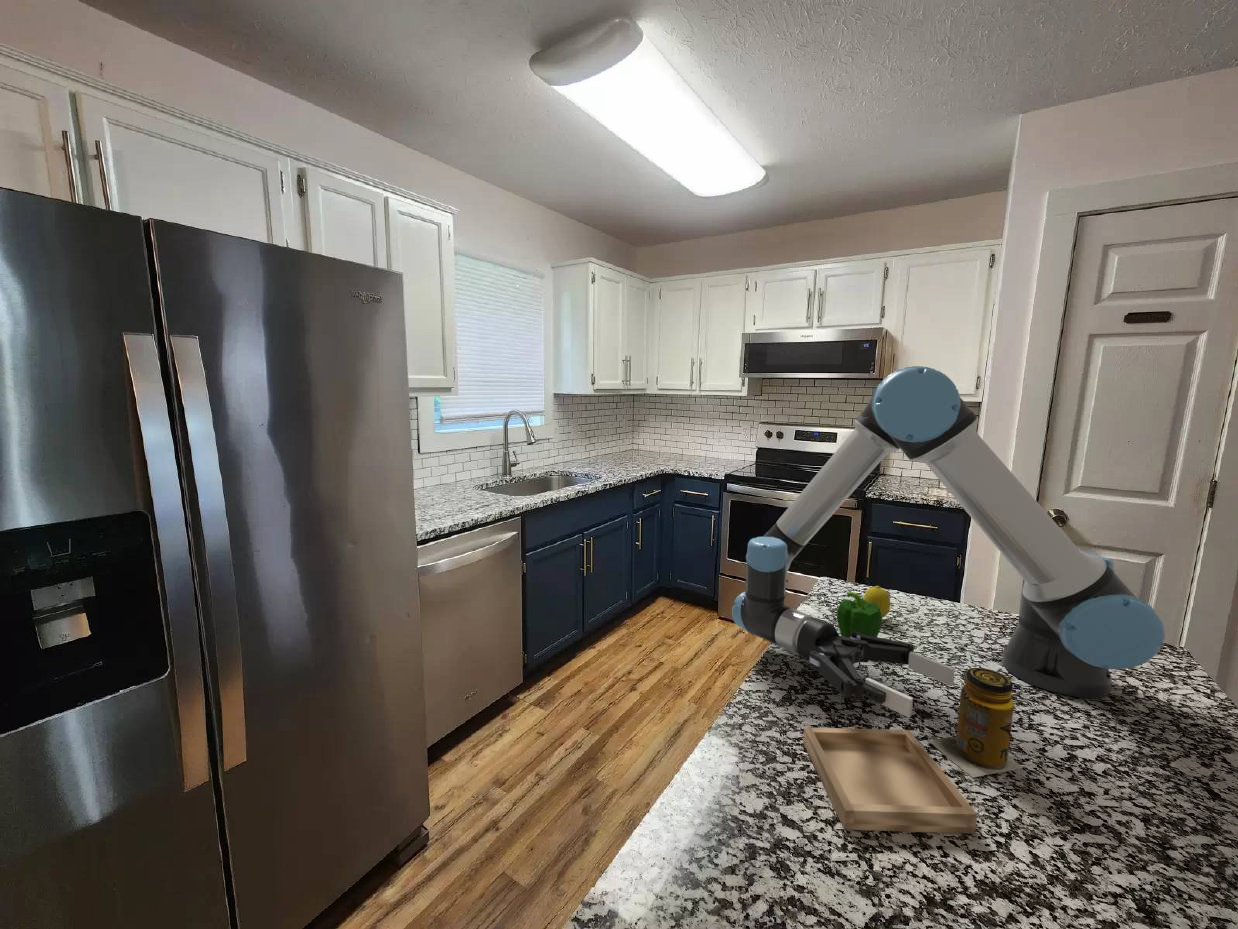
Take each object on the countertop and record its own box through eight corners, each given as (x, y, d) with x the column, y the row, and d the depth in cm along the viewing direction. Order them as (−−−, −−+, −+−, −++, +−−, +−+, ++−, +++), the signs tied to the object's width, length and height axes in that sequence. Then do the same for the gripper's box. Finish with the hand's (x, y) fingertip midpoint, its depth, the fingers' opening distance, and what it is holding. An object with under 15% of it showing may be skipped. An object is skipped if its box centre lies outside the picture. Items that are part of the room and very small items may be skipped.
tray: (907, 746, 75) (909, 730, 74) (975, 833, 60) (977, 814, 59) (803, 743, 75) (804, 727, 75) (844, 829, 60) (845, 810, 60)
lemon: (892, 626, 113) (895, 591, 112) (865, 624, 114) (867, 589, 113) (884, 615, 118) (887, 582, 117) (858, 613, 119) (861, 580, 118)
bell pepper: (888, 643, 105) (892, 596, 104) (865, 654, 101) (869, 605, 99) (851, 627, 112) (854, 583, 111) (827, 637, 108) (830, 591, 106)
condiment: (1023, 768, 70) (1033, 687, 69) (972, 779, 68) (981, 695, 67) (975, 734, 77) (983, 659, 76) (928, 742, 75) (935, 666, 74)
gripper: (844, 637, 101) (966, 687, 84) (761, 678, 87) (888, 748, 70) (846, 601, 100) (970, 644, 83) (763, 636, 86) (892, 697, 68)
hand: (933, 692), depth 76 cm, fingers open, 13 cm apart
